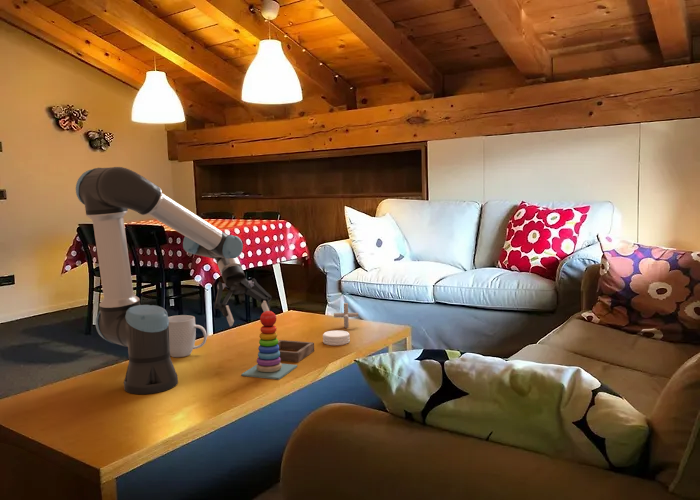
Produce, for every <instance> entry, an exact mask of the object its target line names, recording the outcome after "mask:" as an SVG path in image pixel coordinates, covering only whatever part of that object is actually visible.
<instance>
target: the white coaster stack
mask: <svg viewBox="0 0 700 500" xmlns="http://www.w3.org/2000/svg"><path fill="white" fill-rule="evenodd" d="M350 335H351V334H350V333H349V332H348V331H346V330H337V329H335V330H328V331H325V332H324V333H323V334H322V342H323V344H324V345H327V346H343V345H347V344H349V343H350V341H351V340H350V338H351V337H350Z"/></svg>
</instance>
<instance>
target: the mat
mask: <svg viewBox="0 0 700 500" xmlns="http://www.w3.org/2000/svg"><path fill="white" fill-rule="evenodd" d="M280 363H281V364H282V368H281V369H280V370H278V371H275V372H260V371H258V370H257V368H256V366H257V364H255V365H253V366H252V367H250V368H249V369H247V370H245V371H244V372H242V373H241V377H251V378H258V379H260V378H261V379H267V380H269V379H270V380H281V379H283V378H284V377H285V376H286V375H288V374H289V373H291V372H292V371H294V370H295V369H297V368H298V364H290V363H282V362H280Z"/></svg>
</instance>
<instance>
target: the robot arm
mask: <svg viewBox="0 0 700 500" xmlns="http://www.w3.org/2000/svg"><path fill="white" fill-rule="evenodd" d="M76 181H77V182H76V185H75V194H76V197H77V199H78V201H79V202H81V204H82V205H84V208H85V209H84V210H85V216H86V217H87V218H89V219H90V220H91V221H92V226H93V231H94V239H95V240H94V241H95V245H96V251H97V259H98V260H97V261H98V266H99V273H100V279H101V287H102V288H101V289H102V294H103V299H102V301H101V302H99V311H98V313H97V315H96V317H95V328H96V332H97V333H98V335H99V336H100V337H101V338H102V339H103V340H105V341H106V342H109V343H111V344H114V345H119V346H122V347H127V349H128V350H127V353H128V365H127V369H126V373H125V377H124V380H123V388H124V389H123V390H124V391H125V392H127V393H129V394H134V395H147V394H148V395H149V394H157V393H161V392H164V391H168V390H170V389H173V388H174V387H176V386H177V385H178V384H179V380H178V379H179V377H178V373H177V372H176V368H175V366H174V363H173V361H172V359H171V355H170V341H169V320H168V317H169V315H168V314H169V313H168V312H167V310H166V309H165V308H164V307H162V306H159V305H154V304H152V305H150V304H141V300H140V297H138V296H137V295H135V293H134V287H133V279H132V274H131V273H132V272H131V264H130V258H129V250H128V243H127V235H126V227H125V219H124V217H125V216H126V215H127V214H128V212H129V210H132V211H134V212H136V213H138V214H139V215H141V216H146V215H148V216H149V217H151V218H153V219H154V220H157V221H158V222H160V223H161V224H164V225H166V226H168V227H169V228H171V229H172V230H174V231H175V232H177V233H179V234H181V235H182V236H184V238H183V242H182V248H183V250H184V251H185V252H186V253H189V254H192V255H196V256H199V257H201V256H202V257H205V258H208V259H209V258H210V259H214V260H215V262H216V264H217V267H218V270H219V273H220V274H221V277H222V280H223V282H224V283H223V282H222V281H219V282H218V283H217V286H216V289H217V293H216V297H215V302H214V309H215V310H217V309H218V310H219V311H220V312H221V313H222V316H223V317H224V318H226V320H227V323H228V325H229V327H233V325H234V323H235V320H234V317H233V314H232V312H231V308H230V306H229V304H228V302H229V300H230V299H231V296H232V294H234V295H243V294H245V295H246V296H249V297H251V298H253V299H254V300H256V301H258V302H259V303H261V305H260V306H261V309H262V311H263V312H265V311H271V308H272V307H271V306H270V302H271V300H272V295H271V294H270V293H269V292H267V290H266V289H264V288H263V287H262V286H261V285H260V284H259V283H258V282H257V279H255V278H251V280H248V279H247V278H246V274H245V272H244V270H243V267H242V264H241V262H240V260H239V257H240V255H241V254H242V252H243V248H244V244H243V241H242V239H241V238H240V237H239V236H237V235H233V234H227V233H226V232H224V231H223V230H220V229H219V228H218V227H216V226H214V225H213V224H211V223H210V222H208V221H206V219H203V218H202V217H201V216H199V215H197V214H196V213H194V212H192V211H191V210H189V209H188V208H186V207H185V206H183V205H182V204H180V203H178V202H177V201H175V200H174V199H172V198H171V197H169V196H167V195H166V194H165V193H163V192H162V188H161V187H160V186H158V185H157V184H155V183H154V182H152V181H151V180H149V179H147V178H146V177H144V176H143V175H141V174H139V173H138V172H136V171H133V170H132V169H130V168H127V167H123V166H113V167H95V168H91V169H89V170H85V172H83V173H82V174H81V175H80V176H79V177H78V179H77V180H76ZM224 289H226V290H227V291H228V292H227V294H226V296H225V297H224V299H223V301H222V302H221V300H222V299H221V298H222V294H223V290H224ZM227 304H228V305H227Z"/></svg>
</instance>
